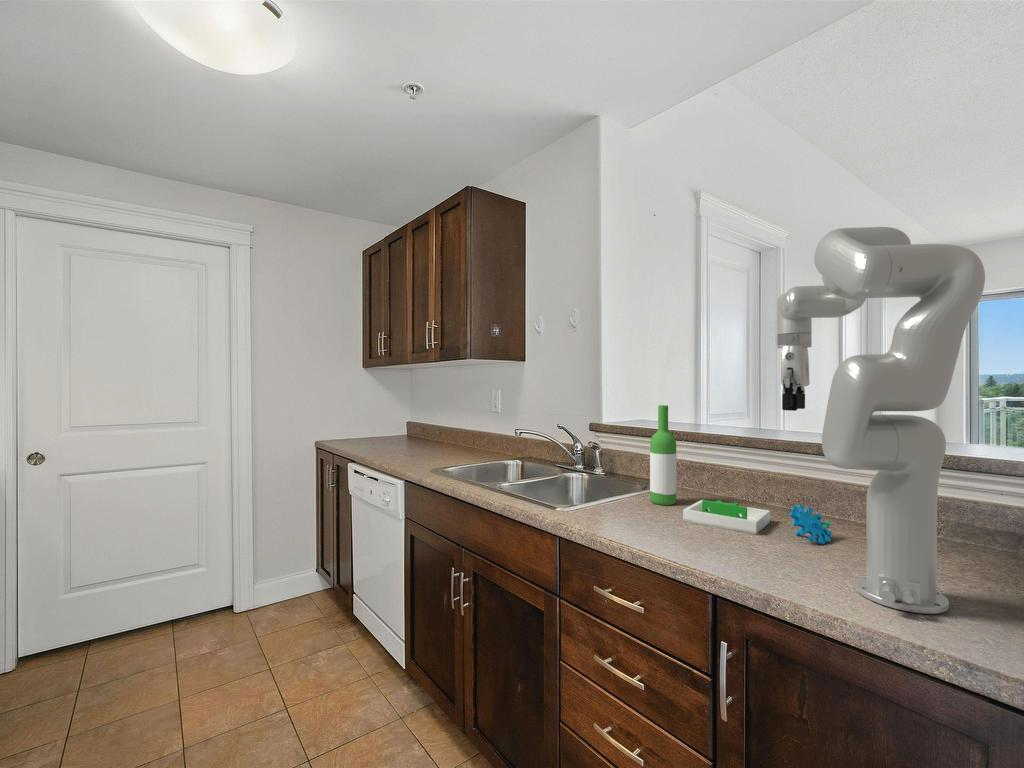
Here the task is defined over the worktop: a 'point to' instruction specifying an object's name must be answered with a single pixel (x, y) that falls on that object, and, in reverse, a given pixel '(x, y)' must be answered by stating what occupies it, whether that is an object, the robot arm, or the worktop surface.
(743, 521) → the tray
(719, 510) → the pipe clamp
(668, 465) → the wine bottle
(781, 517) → the worktop surface
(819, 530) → the blue lumpy piece
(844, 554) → the worktop surface
